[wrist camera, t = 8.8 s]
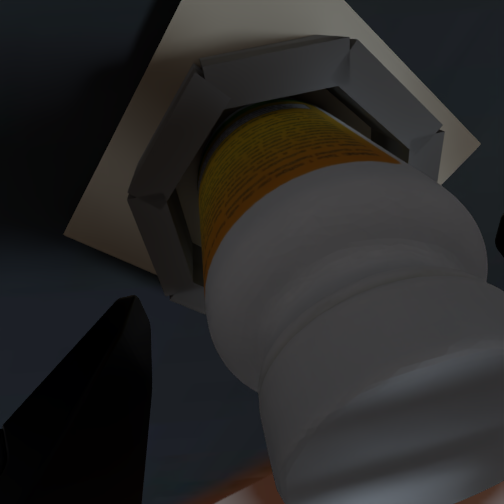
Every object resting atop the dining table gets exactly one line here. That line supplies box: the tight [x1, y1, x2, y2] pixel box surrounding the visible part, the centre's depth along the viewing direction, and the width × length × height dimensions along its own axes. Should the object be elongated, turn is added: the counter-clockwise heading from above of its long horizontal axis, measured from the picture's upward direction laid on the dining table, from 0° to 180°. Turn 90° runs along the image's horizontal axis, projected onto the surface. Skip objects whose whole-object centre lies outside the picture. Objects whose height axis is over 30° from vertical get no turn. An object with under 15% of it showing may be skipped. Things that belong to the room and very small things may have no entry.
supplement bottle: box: [197, 97, 504, 504], centre depth 8 cm, size 5×5×10 cm
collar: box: [63, 0, 481, 315], centre depth 12 cm, size 11×11×3 cm
